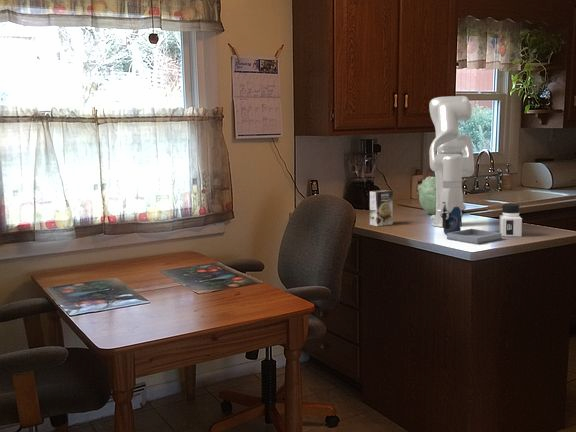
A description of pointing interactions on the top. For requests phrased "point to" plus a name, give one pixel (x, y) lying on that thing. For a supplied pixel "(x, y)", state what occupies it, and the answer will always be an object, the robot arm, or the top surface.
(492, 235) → the tray
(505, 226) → the container
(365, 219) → the top surface
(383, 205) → the coffee box
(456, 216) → the soda can
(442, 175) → the robot arm
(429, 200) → the cabbage
